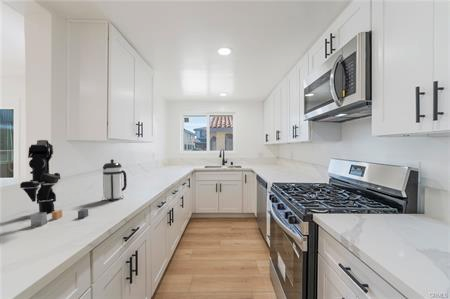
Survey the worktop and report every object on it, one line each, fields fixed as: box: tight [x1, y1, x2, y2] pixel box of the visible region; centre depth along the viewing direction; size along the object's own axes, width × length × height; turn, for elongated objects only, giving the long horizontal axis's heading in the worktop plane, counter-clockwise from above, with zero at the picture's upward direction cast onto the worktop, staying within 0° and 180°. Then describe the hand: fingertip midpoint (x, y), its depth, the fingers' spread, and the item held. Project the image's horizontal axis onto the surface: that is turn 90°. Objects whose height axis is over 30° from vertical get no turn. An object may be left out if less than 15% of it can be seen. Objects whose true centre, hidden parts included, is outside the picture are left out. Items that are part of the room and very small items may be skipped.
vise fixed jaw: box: [77, 208, 89, 219], centre depth 132 cm, size 3×5×4 cm, turn 5°
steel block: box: [30, 211, 48, 227], centre depth 120 cm, size 5×4×6 cm
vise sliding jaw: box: [51, 209, 63, 221], centre depth 131 cm, size 2×5×4 cm, turn 5°
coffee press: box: [101, 159, 128, 202], centre depth 178 cm, size 17×16×30 cm
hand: (40, 199), depth 120 cm, fingers open, 9 cm apart
